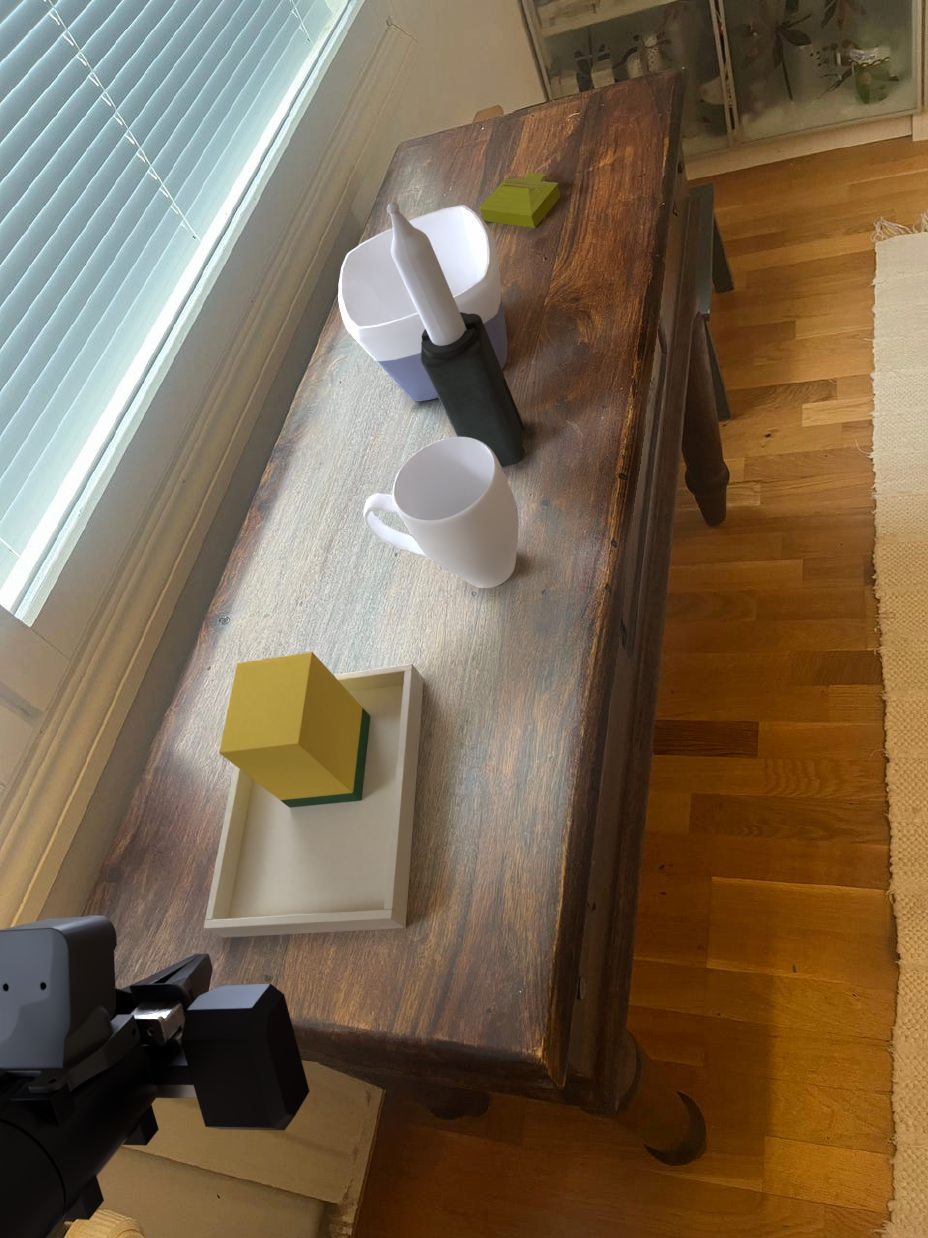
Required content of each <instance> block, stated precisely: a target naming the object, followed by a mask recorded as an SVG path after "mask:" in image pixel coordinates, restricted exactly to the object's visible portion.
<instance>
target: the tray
mask: <svg viewBox="0 0 928 1238" xmlns="http://www.w3.org/2000/svg"><path fill="white" fill-rule="evenodd" d="M333 675H334V676H335V677H336V678H337V680H338V681H339V682H340V683H341V684H342V685H343V686H344V687H345V688H346V690H347V691H348V692H349V693H350V694H351V695H352V696H353V697H354V698H355V699H356V701H357V702H358V703H359V704H360V705H361V706H362V708H364V709H365V711H366V712H367V713H368V714H369V715H370V725H369V735H368V744H367V754H366V763H365V773H364V782H363V792H362V800H361V801H353V802H342V803H332V804H322V805H312V806H301V807H291V808H289V807H288V806H287V805H285V804H284V803H283V802H282V801H281V800H279V799H278V798H276V797H275V796H274V795H273V794H271V793H270V792H269V791H267V790H266V789H265V788H264V787H262V786H261V785H260V784H258V783H257V782H256V781H255V780H253V779H252V778H251V777H249V776H248V775H247V774H246V773H244V772H243V771H242V770H240V769H239V768H238V767H237V766H235V765H234V764H233V771H232V777H231V781H230V785H229V792H228V797H227V803H226V808H225V814H224V818H223V823H222V824H223V825H222V830H221V834H220V840H219V845H218V850H217V855H216V860H215V866H214V871H213V876H212V881H211V887H210V892H209V897H208V903H207V906H206V907H207V908H206V913H205V920H204V924H203V929H204V930H206V931H208V932H210V933H212V934H214V935H216V936H217V937H220V938H223V939H224V938H243V937H261V936H263V937H264V936H281V935H300V934H302V935H303V934H317V933H318V934H319V933H320V934H321V933H337V932H338V933H339V932H340V933H341V932H361V931H378V930H379V931H380V930H394V929H395V930H397V929H398V930H399V929H406V927H407V913H408V912H407V911H408V901H409V900H408V898H409V887H410V885H409V884H410V874H411V873H410V872H411V858H412V856H411V855H412V845H413V833H414V832H413V831H414V818H415V803H416V793H417V792H416V789H417V779H418V778H417V776H418V763H419V751H420V748H419V747H420V738H421V734H420V733H421V722H422V711H423V710H422V709H423V697H424V696H423V695H424V693H423V692H424V683H425V682H424V681H425V678H424V677H423V676H422V675H421V673H420V672H419V670H418V669H417V668H416V667H415V665H414V664H413V663H407V664H401V665H391V666H387V667H386V666H385V667H378V668H372V669H365V670H358V671H351V672H344V673H336V674H333Z"/></svg>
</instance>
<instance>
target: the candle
mask: <svg viewBox="0 0 928 1238" xmlns="http://www.w3.org/2000/svg"><path fill="white" fill-rule="evenodd" d="M386 207H387V208H386V210H387V213H388V214H389V215H390V218H391V226H392V227H391V228H393V236H394V237H393V241H392V246H391V254H392V257H393V259H394V261H395V264H396V266H397V268H398V270H399V272H400V274H401V277H402V279H403V281H404V283H405V285H406V287H407V289H408V292H409V294H410V296H411V298H412V300H413V302H414V305H415V307H416V309H417V311H418V313H419V315H420V318H421V320H422V322H423V324H424V326H425V328H426V329H425V330H424V332H423V334H422V342H421V363H422V365H423V367H424V369H425V371H426V373H427V375H428V377H429V380H430V382H431V384H432V386H433V388H434V390H435V392H436V394H437V396H438V400H439V402H440V404H441V406H442V408H443V410H444V412H445V414H446V416H447V419H448V421H449V423H450V425H451V427H452V430H453V432H454V433H455V435H456V437H468V438H473V439H476V440H479V441H481V442H483V443H484V444H486V445H487V446H488V447H489V448H490V449H491V450H492V451H493V452H494V454H495V455H496V457H497V459H498V461H499V463H500V465H501V467H507V466H511V465H516V464H517V463H520V462H521V461H522V460H523V459H524V457H525V456H526V452H527V449H525V445H524V432H525V431H526V428H525V427H526V426H525V425H524V422H523V420H522V417H521V415H520V411H519V409H518V407H517V405H516V402H515V400H514V399H515V398H514V397H513V394H512V391H511V390H510V387H509V385H508V382H507V379H506V376H505V375H504V372H503V368H502V369H501V366H500V364H499V361H498V359H497V356H496V354H495V351H494V349H493V346H492V344H491V341H490V339H489V336H488V334H487V331H486V329H485V326H484V324H483V321H482V319H481V317H480V316H479V315H477V314H467V313H463V312H459V310H458V307H457V305H456V302H455V300H454V298H453V295H452V293H451V290H450V288H449V286H448V283H447V281H446V278H445V276H444V274H443V271H442V269H441V267H440V264H439V262H438V259H437V257H436V255H435V252H434V250H433V247H432V245H431V243H430V240H429V238H428V237H427V235H426V234H425V233H424V232H422V231H420V230H418V229H417V228H415V227H413V226H412V225H411V223H410V222H409V219H407V217H405V215H404V213H402V212H401V211H400V206H399V204H398V203H397V202H395V201H391V202H389V203H388V204H387V206H386Z"/></svg>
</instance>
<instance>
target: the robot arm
mask: <svg viewBox="0 0 928 1238" xmlns="http://www.w3.org/2000/svg"><path fill="white" fill-rule="evenodd" d="M117 942H118V939H117V930H116V928H115V926H114V924H113V922H112V921H111V919H109V918H108V917H106V916H104V915H100V914H99V915H97V914H96V915H93V914H92V915H86V916H74V917H73V916H72V917H57V918H56V917H49V918H44V919H40V920H36V921H30V922H27V923H22V924H19V925H15V926H10V927H6V928H2V929H0V1238H49V1237H50V1236H51V1234H52V1233H53V1232H54V1230H55V1229H56V1228H57V1227H58V1225H59V1224H60V1223H61V1222H62V1220H65V1219H66V1220H79V1221H81V1220H82V1221H90V1220H91V1218H92V1217H93V1216H94V1214H95V1213H96V1212H97V1211H98V1209H99V1208H100V1206H101V1205H102V1204H103V1203H104V1201H105V1199H104V1195H103V1192H102V1189H101V1186H100V1183H99V1180H98V1176H99V1175H100V1173H101V1172H102V1171H103V1170H104V1168H105V1167H106V1166H107V1165H108V1164H109V1162H110V1161H111V1159H112V1158H113V1157H114V1156H115V1155H116V1154H117V1152H118V1151H119V1150H120V1149H121V1147H122V1146H148V1145H149V1143H150V1142H151V1140H152V1139H153V1138H154V1136H155V1135H156V1134H157V1133H158V1131H159V1130H160V1128H159V1125H158V1121H157V1118H156V1115H155V1112H154V1108H153V1103H154V1102H155V1101H156V1099H197V1103H198V1106H199V1110H200V1113H201V1117H202V1120H203V1124H204V1127H205V1128H210V1129H216V1130H225V1131H226V1130H228V1131H229V1130H230V1131H232V1130H233V1131H286V1129H288V1127H289V1125H290V1124H291V1123H292V1122H293V1119H295V1118H296V1116H297V1113H298V1112H299V1110H300V1108H301V1107H302V1105H303V1104H304V1102H305V1100H306V1099H307V1097H308V1095H309V1094H310V1091H311V1090H310V1087H309V1083H308V1080H307V1076H306V1072H305V1068H304V1064H303V1061H302V1057H301V1053H300V1050H299V1044H298V1041H297V1038H296V1034H295V1030H294V1026H293V1023H292V1018H291V1015H290V1011H289V1007H288V1003H287V999H286V996H285V993H284V992H282V991H281V990H280V989H278V988H277V987H276V986H274V985H273V984H272V983H247V984H222V985H219V986H217V987H215V988H213V989H211V990H210V986H211V981H212V976H213V971H214V970H213V964H212V959H211V957H210V954H209V953H194V954H192V955H191V956H189V957H186V958H184V959H182V960H180V961H178V962H176V963H174V964H172V965H170V966H167V967H166V968H164V969H161V970H159V971H158V972H155V973H153V974H151V975H149V976H147V977H145V978H143V979H140V980H138V981H136V982H135V983H132V984H130V985H128V986H125V987H123V988H117V987H116V965H115V950H116V948H117V945H118V943H117Z"/></svg>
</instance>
